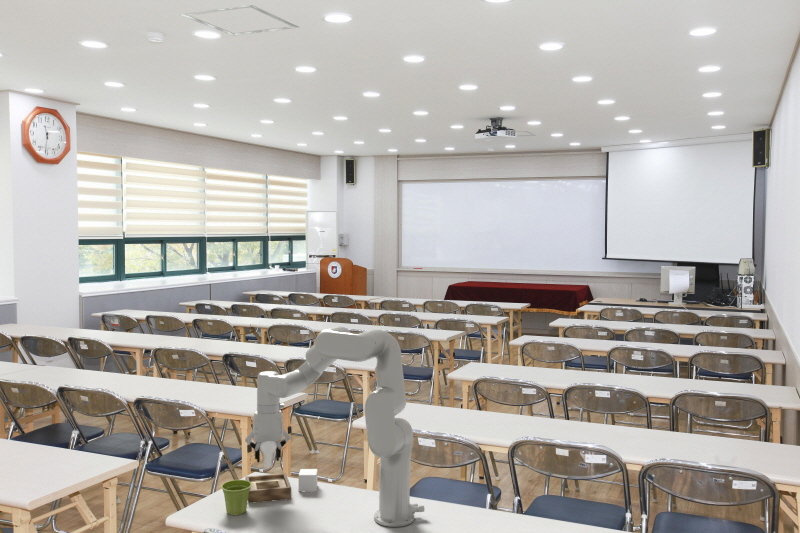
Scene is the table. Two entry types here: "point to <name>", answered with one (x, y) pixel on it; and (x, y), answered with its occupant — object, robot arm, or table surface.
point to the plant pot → (236, 496)
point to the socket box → (269, 487)
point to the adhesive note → (308, 480)
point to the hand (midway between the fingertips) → (267, 459)
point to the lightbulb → (268, 452)
